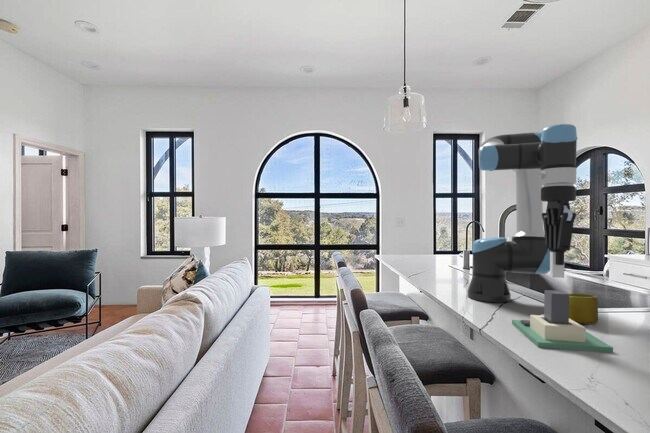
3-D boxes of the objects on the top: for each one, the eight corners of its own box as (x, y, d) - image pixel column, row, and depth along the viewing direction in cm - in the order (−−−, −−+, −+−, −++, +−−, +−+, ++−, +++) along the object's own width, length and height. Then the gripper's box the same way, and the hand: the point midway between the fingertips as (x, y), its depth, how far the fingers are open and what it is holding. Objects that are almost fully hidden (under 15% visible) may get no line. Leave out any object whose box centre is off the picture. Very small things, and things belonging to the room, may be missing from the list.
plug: (543, 330, 90) (543, 289, 90) (559, 331, 90) (560, 290, 90) (551, 336, 86) (551, 293, 86) (568, 337, 85) (569, 294, 85)
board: (511, 323, 100) (512, 307, 100) (572, 327, 97) (572, 311, 97) (537, 347, 82) (538, 327, 82) (613, 352, 79) (613, 332, 79)
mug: (614, 322, 96) (598, 287, 99) (576, 330, 98) (561, 296, 101) (593, 318, 108) (579, 287, 110) (559, 325, 110) (546, 295, 112)
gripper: (531, 188, 95) (530, 272, 95) (553, 183, 82) (552, 281, 82) (561, 187, 93) (560, 273, 93) (588, 183, 80) (587, 282, 81)
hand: (556, 276), depth 88 cm, fingers closed
